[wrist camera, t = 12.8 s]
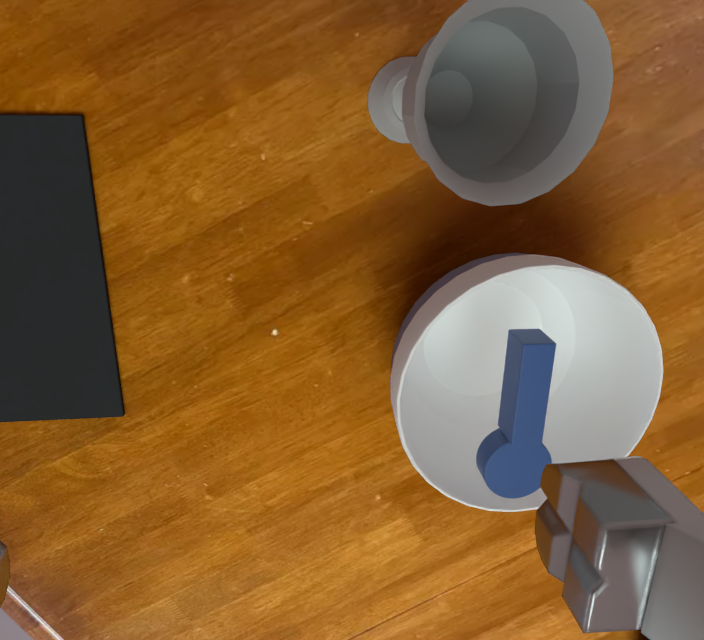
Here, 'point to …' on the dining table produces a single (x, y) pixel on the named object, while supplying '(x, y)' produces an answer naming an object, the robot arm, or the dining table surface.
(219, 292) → the dining table surface
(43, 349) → the mat
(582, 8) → the chalice
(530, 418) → the blue spoon
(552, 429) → the bowl
